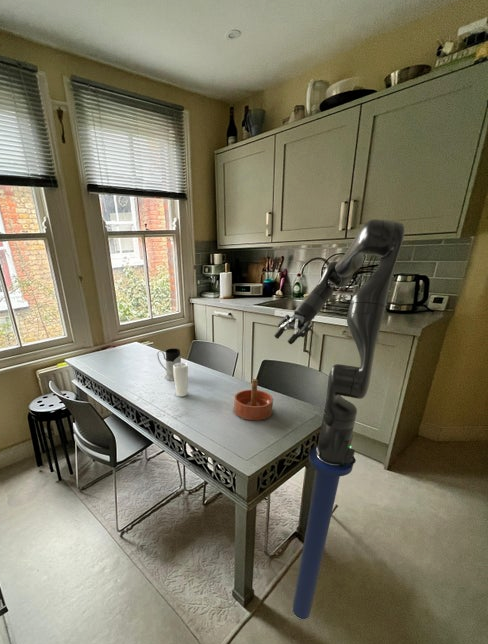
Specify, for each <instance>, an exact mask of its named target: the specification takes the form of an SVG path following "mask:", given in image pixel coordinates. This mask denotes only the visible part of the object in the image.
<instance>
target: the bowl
mask: <svg viewBox="0 0 488 644" xmlns="http://www.w3.org/2000/svg"><path fill="white" fill-rule="evenodd" d="M251 390H252V389H245V390H240V391H238V392H237V393H235V395H234V399H233V409H234V411H233V412H234V413H235V414H236V415H237V416H238V417H240V418H242V419H245V420H250V421H261V420H265V419H268V418H269V417H270V416H271V415H272V414H273V407H274V406H273V405H274V398H273V396H272V395H271V394H270V393H268V392H266V391H263V390H259V389H257V397H256V402H258V403H259V404H260V406H248V405H247V403H248V402H250V401H251Z"/></svg>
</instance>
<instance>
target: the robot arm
mask: <svg viewBox="0 0 488 644" xmlns="http://www.w3.org/2000/svg"><path fill="white" fill-rule="evenodd" d="M404 238H405V225H404V224H403V223H402V222H399V221H393V220H385V219H369V220H367V221H366V222H365V223H364V224H363V225H362V226H361V228H360V229H359V230H358V232H357V234H356V235H355V237H354V239H353V240H352V242H351V244H350V245H349V247H348V249H347V251H346V252H345V253H344V255H342V257H340V258H339V260H338V261H336V260H335V261H331V262H329V263H328V264H327V265H326V267H325V268H324V271H323V272H322V274H321V277H320V279H319V280H318V282H317V284H316V286H314V288H313V289H312V290H311V291H310V293H308V295H306V296H305V298H304V299H303V300H302V301H301V302H300V304H299V305H298V306H297V307H296V308H295V310H294V311H293V315H292V316H290V315H289V314H286V315H285V316H284V317H283V318H282V319H281V320H280V322H279V323H277V327H278V330H277V331H276V332H275V333H274V335H273V336H274V338H275V339H277V340H278V339H280V338H281V336H282V335H283V334H284V332H286V331H288V330H294V333H292V335H291V336H290V337H289V338H288V340H287V343H288V344H289V345H293V344H294V343H295V342H296V341H297V340H298V338H305V336H307V334H308V333H309V331H310V330H311V329H312V328H313V324H312V323H311V322H312V321H313V319H314V318H315V317H316V316H317V315H318V313H320V311H321V310H322V308H323V307H324V306H325V304H327V302H328V301H329V300H330V298H331V297H332V296H333V294H334V290H333V288H332V286H331V285H330V284H332V285H334V286H335V287H336V288H339V289H341V288H345V287H347V285H349V283H350V282H351V281H352V278H353V276H354V274H356V272H357V271H358V270H359V269H360V268H361V267H362V266H363V264H364V262H365V255H369V256H375V257H376V256H377V257H380V260H379V263H378V266H377V268H376V269H375V272H374V273H373V274H372V275H371V276H370V277H369V279H367V280H366V282H365V283H363V284H362V286H361V287H360V288H358V290H357V291H356V292H355V293H354V294H353V296H352V297H351V300H350V303H349V306H348V307H349V308H348V312H347V317H346V324H347V328H348V331H349V332H350V335H351V336H352V339H353V341H354V343H355V345H356V349H357V351H358V354H359V358H360V359H359V360H360V366H353V365H347V364H340V363H337V364H334V365H332V366H331V368H330V369H329V370H330V371H329V375H328V380H327V389H326V396H325V397H326V398H325V403H324V404H325V405H324V408H323V415H322V421H321V427H320V432H319V438H318V444H317V446H318V448H316V450H317V453H316V456H317V458H318V459H319V460H320V461H321V462H323V463H325V464H327V465H330V466H340V467H344V465H345V463H346V462H347V463H349V464H350V465H352V464H353V465H355V463H356V461H357V459H356V458H355V452H356V450H355V449H353V448H352V442H353V437H354V435H353V432H354V427H355V423H356V418H357V414H358V409H357V407H356V405H355V404H354V403H353V402H350V401H349V400H347V399H346V398H344V397H348V398H351V399H359V400H362V399H364V398H365V397H366V395H367V393H368V390H369V386H370V381H371V376H372V370H373V363H374V357H375V351H376V348H377V347H376V346H377V341H378V338H379V334H380V329H381V326H382V324H383V319H384V315H385V310H386V306H387V302H388V301H387V300H388V295H389V290H390V287H391V282H392V277H393V274H394V270H395V267H396V264H397V260H398V258H399V256H400V255H399V254H400V251H401V248H402V245H403V240H404ZM352 459H353V462H351V461H352Z"/></svg>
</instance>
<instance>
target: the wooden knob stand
mask: <svg viewBox="0 0 488 644" xmlns="http://www.w3.org/2000/svg"><path fill="white" fill-rule="evenodd" d="M258 383H259V382H258V379H256V378H253V379H251V389H250V390H251V401H250V402H248V403H247V405H248V406H260V404H259V403H258V402H256V397H257V390H258Z"/></svg>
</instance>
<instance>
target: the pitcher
mask: <svg viewBox="0 0 488 644" xmlns="http://www.w3.org/2000/svg"><path fill="white" fill-rule="evenodd" d="M159 353H162V355H163V359H164V360H165V365H164V364H162V362H161V360H160V357H159ZM156 355H157V360H158V362H159V365H160V366H161V367H162V368H163V369H164V370H165V371H166V376H165V379H166V380H168V381H171V382H175V381H174V374H173V365H174V364H176V363H182V358H181V357H182V356H181V350H180V349H179V348H174V347H173V348H168V349H166V350H165V352H164V351H162V350H159V351H158V352H157V353H156Z"/></svg>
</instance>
